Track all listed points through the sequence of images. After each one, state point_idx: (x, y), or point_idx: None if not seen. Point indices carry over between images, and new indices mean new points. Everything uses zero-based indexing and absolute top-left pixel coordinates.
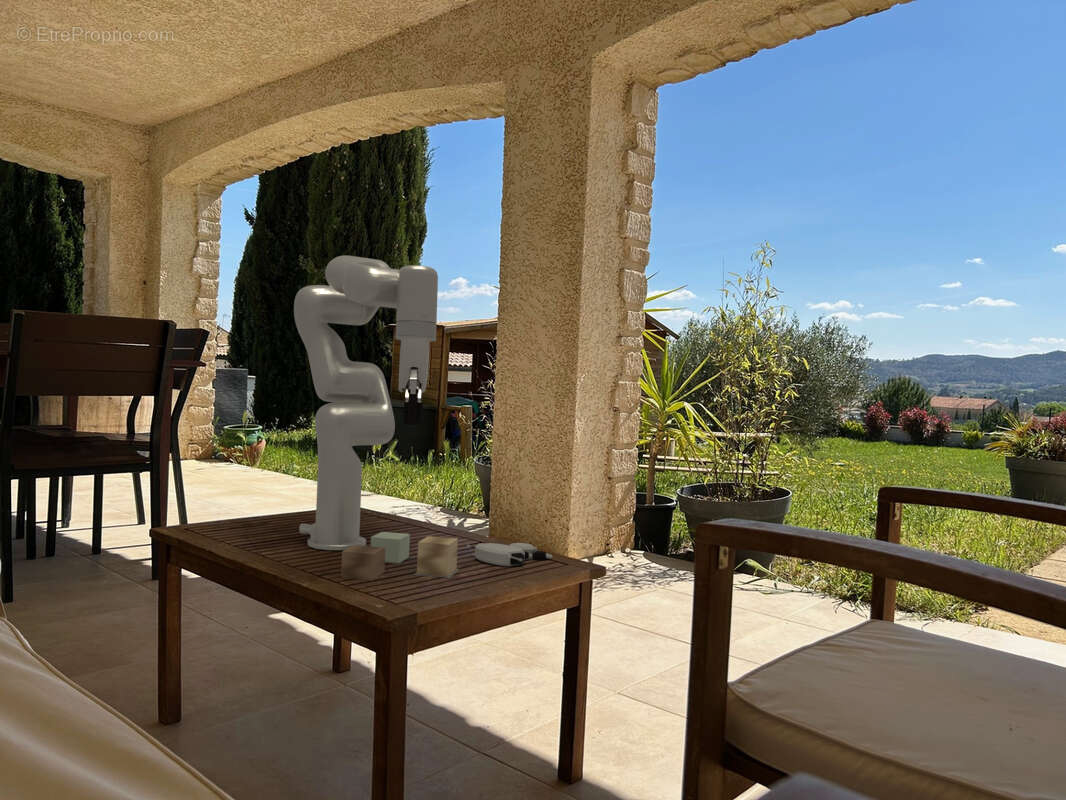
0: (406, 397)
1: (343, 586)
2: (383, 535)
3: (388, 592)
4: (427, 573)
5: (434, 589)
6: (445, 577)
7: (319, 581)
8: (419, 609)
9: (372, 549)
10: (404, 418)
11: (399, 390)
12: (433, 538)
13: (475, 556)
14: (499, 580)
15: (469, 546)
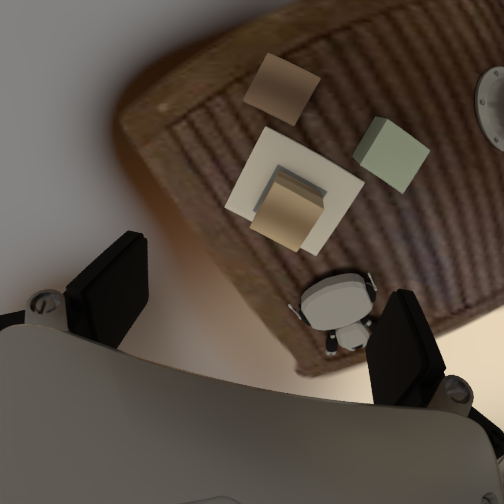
0: (28, 309)
1: (258, 63)
2: (399, 144)
3: (220, 120)
4: (271, 184)
5: (229, 182)
6: (255, 205)
7: (291, 33)
8: (146, 152)
9: (279, 102)
10: (116, 244)
11: (45, 326)
12: (303, 214)
13: (349, 273)
14: (266, 273)
15: (368, 275)
